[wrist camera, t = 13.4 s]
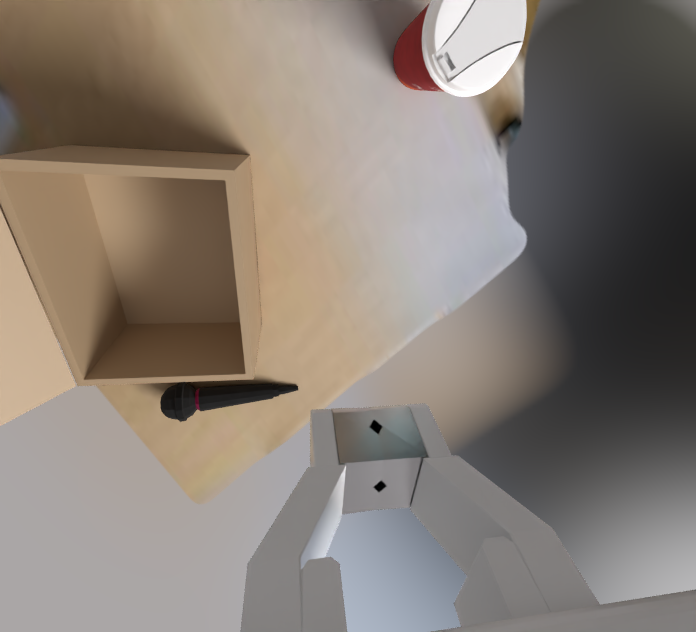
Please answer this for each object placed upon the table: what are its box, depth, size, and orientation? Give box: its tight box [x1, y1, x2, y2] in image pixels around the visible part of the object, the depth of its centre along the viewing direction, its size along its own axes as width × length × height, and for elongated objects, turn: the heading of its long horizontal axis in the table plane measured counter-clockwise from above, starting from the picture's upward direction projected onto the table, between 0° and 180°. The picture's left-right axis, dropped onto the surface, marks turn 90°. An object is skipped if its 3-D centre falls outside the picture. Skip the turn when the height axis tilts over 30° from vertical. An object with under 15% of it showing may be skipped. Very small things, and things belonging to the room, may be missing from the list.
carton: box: [0, 145, 262, 386], centre depth 37 cm, size 18×22×12 cm
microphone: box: [161, 382, 298, 422], centre depth 53 cm, size 6×6×20 cm
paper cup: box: [393, 0, 526, 97], centre depth 30 cm, size 8×8×14 cm
